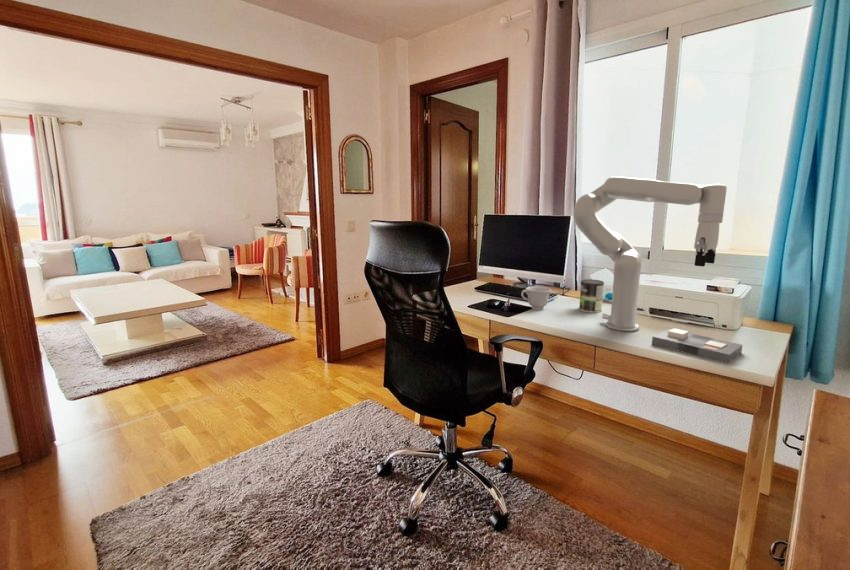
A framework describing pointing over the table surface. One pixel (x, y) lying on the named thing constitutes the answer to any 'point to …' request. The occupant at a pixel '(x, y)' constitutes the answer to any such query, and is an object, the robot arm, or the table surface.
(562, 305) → the table surface
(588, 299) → the coffee can
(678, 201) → the robot arm
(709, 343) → the switch right
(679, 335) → the switch left
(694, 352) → the switch panel
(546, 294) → the teacup
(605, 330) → the table surface
